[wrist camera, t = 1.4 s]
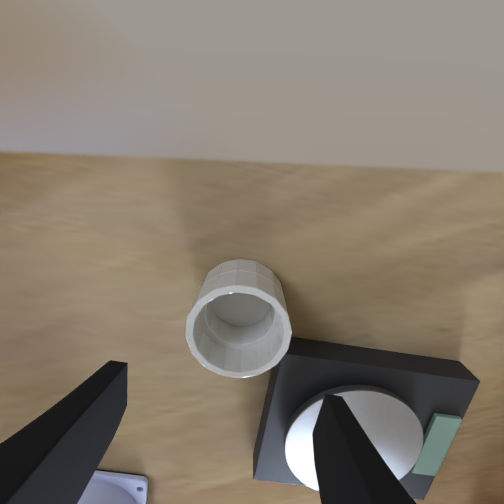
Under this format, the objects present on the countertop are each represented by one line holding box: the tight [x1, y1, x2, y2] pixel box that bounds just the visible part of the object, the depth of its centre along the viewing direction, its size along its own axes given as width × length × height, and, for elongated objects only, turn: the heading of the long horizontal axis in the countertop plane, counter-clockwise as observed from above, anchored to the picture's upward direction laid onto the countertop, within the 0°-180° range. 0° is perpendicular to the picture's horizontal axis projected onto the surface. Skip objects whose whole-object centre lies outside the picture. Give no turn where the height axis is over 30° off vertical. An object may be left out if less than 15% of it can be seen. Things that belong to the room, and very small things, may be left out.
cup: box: [185, 259, 292, 378], centre depth 17 cm, size 5×5×4 cm
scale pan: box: [284, 384, 423, 491], centre depth 20 cm, size 9×9×1 cm
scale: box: [253, 337, 480, 500], centre depth 21 cm, size 11×13×2 cm
